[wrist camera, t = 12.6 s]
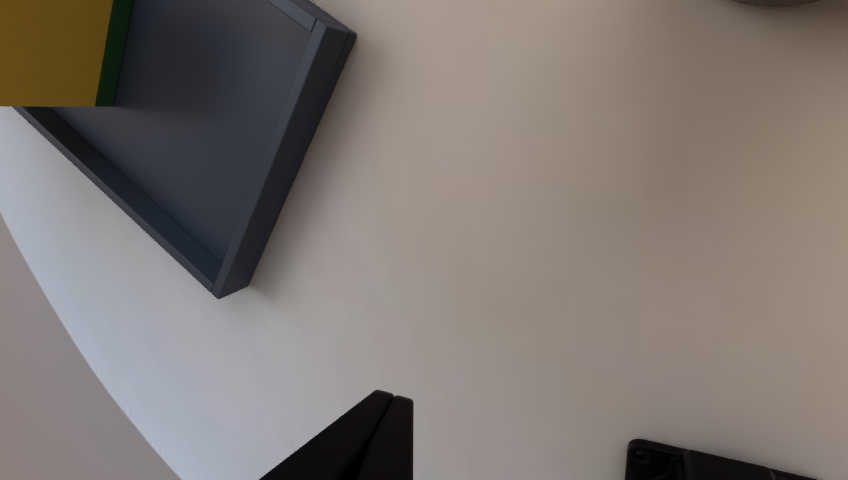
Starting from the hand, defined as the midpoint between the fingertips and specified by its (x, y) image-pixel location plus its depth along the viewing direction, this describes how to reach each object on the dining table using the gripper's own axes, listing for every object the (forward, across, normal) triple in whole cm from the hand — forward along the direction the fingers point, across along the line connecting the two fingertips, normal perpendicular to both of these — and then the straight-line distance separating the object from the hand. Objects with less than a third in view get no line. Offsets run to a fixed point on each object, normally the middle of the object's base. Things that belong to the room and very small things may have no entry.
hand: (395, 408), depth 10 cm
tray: (+15, +21, -4) cm, 26 cm away
